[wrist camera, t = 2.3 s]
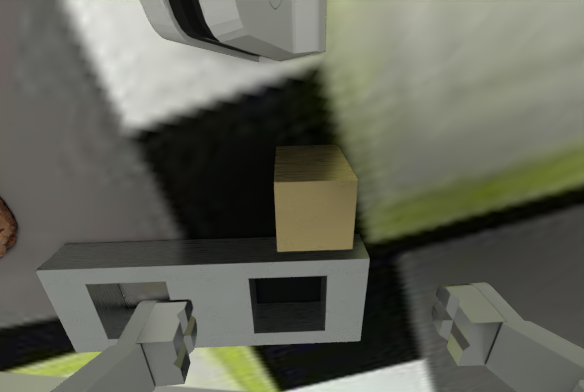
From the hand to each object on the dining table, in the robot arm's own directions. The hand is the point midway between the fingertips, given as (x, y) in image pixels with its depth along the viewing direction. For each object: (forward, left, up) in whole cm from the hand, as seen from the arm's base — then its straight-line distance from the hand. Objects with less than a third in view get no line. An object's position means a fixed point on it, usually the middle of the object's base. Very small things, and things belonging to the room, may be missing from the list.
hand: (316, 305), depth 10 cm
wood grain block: (-1, 0, -12) cm, 12 cm away
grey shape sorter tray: (+6, +9, -12) cm, 16 cm away
